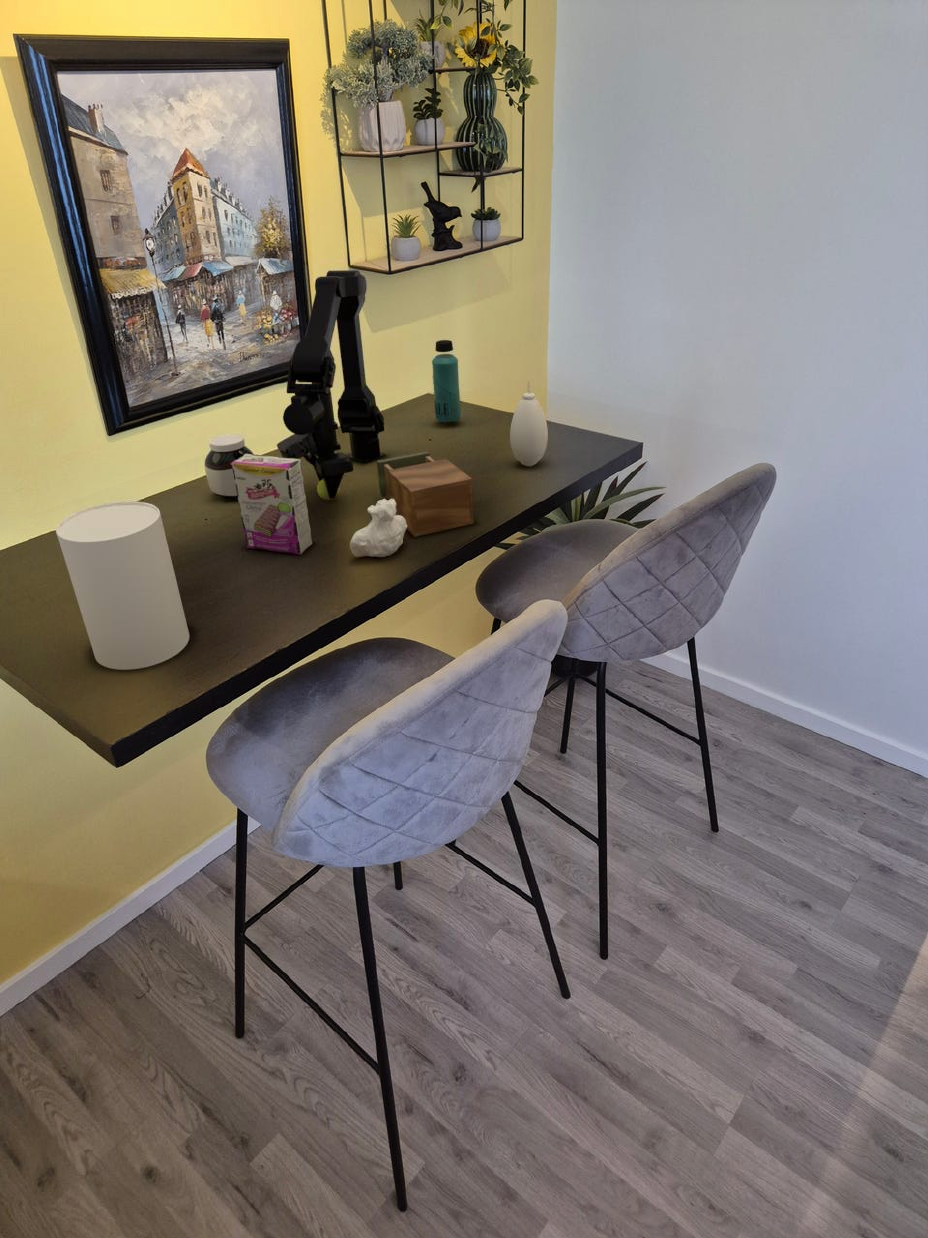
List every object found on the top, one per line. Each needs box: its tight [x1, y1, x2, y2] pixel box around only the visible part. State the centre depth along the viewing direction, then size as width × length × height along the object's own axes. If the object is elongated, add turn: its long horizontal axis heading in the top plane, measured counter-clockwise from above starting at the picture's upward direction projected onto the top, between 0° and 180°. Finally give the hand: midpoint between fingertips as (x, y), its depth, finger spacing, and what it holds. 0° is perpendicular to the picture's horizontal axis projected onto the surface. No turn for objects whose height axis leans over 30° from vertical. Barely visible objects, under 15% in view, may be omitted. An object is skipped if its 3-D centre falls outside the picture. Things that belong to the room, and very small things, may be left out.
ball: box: [316, 479, 340, 501], centre depth 172 cm, size 4×4×4 cm
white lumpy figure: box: [349, 498, 407, 558], centre depth 149 cm, size 12×8×11 cm
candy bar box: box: [231, 454, 313, 555], centre depth 151 cm, size 11×5×16 cm, turn 71°
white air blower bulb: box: [509, 380, 549, 467], centre depth 181 cm, size 8×8×18 cm
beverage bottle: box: [431, 339, 462, 423], centre depth 207 cm, size 6×7×20 cm
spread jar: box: [204, 433, 255, 501], centre depth 177 cm, size 12×11×12 cm
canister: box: [55, 500, 190, 671], centre depth 123 cm, size 14×14×20 cm
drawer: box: [376, 450, 436, 500], centre depth 169 cm, size 12×11×7 cm
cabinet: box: [388, 458, 475, 538], centre depth 161 cm, size 12×12×9 cm
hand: (328, 494), depth 172 cm, fingers closed on ball, 4 cm apart
